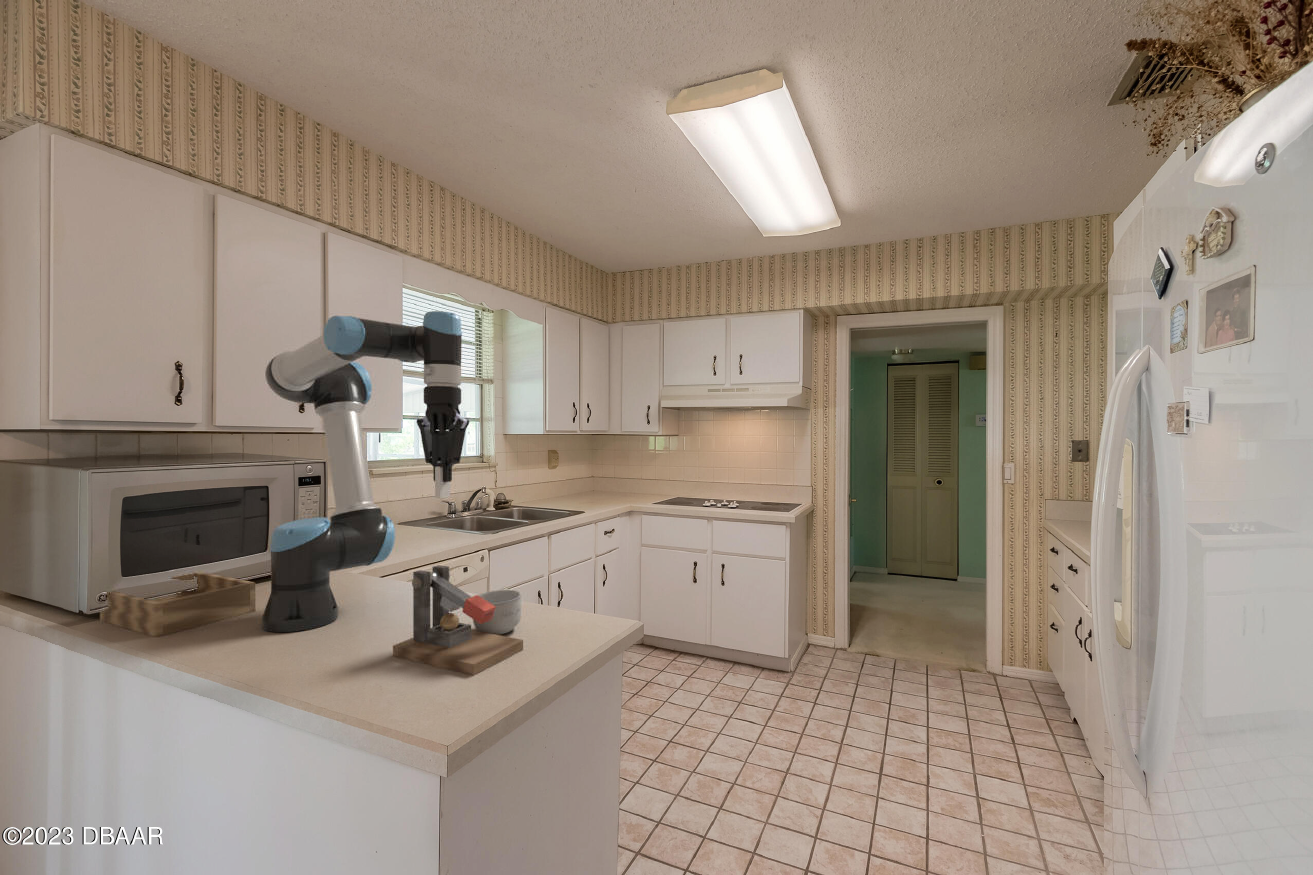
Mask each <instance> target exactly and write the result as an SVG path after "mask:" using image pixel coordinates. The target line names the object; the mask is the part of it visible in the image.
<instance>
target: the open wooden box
mask: <svg viewBox="0 0 1313 875" xmlns="http://www.w3.org/2000/svg"><path fill="white" fill-rule="evenodd" d="M197 572H198V573H195V572H192V573H193V574H190V573H187V574H188V575H184V574H181V575H182V576H179V575H176V576H177V577H174V576H172V577H173V578H171V579H179V580H182V581H183V580H191V579H194V578H193V577H194V576H195V577H197V584H198V588H197V589H194V590H191V591H182V592H181V593H176V594H174V595H171V596H167V597H162V598H158V599H155V600H148V599H144V598H140V597H136V596H132V595H128V594H124V593H120V592H116V591H110V592H107V600H108V609H106V610H104V611H101V612H100V611H99V621H100V622H104V623H107V624H110V625H114V626H117V627H121V628H125V629H126V630H131V631H134V632H138V633H141V634H145V635H148V636H152V637H154V636H155V638H158V637H162V636H165V635H168V634H174V633H176V632H180V631H185V630H188V629H191V628H196V627H199V626H203V625H207V624H211V623H214V622H215V623H216V622H219V621H222V620H226V619H231V618H234V617H239V616H242V615H245V614H249V613H253V612H256V582H254V581H249V580H244V579H239V578H233V577H229V576H223V575H218V574H213V573H208V572H207V573H206V572H202V571H197ZM185 582H186V581H185Z"/></svg>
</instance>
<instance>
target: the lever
mask: <svg viewBox="0 0 1313 875" xmlns="http://www.w3.org/2000/svg"><path fill="white" fill-rule="evenodd" d="M430 588H431V589H432V590H433V589H434V590H436V591H437V592H439V593H440V594H442V595H443V596H442V599H441V602H440V606H442V607H443V608H445V609H446V610H448V611H449V613H453V612H454V611H457V610H459V609H460V608H461V609H462V610H461V611H462V613H464V615H466V616H468V617H469V618H471V619H472V620H473V619H474V620H475V621H477V622H478V623H480V624H482V623H484V622H487V621H489V620H492V617H493V614H494V611H495V608H496V607H495V606H494V605H492V604H491V603H489V602H488V601H486V600H484V599H483V598H481V597H480V596H478V594H476V595H473V596H471V595H469V594H468V593H467V592H465V591H463V590H462V589H460V588H459V587H458V586H456V585H454V584H453V583H451V582H450V581H449V582H448V581H447V580H445V579H444V578H442V577H441V574H440V573H439V572H438V571H435V572H433V571H432V572H431V571H430Z"/></svg>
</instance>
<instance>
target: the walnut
mask: <svg viewBox="0 0 1313 875" xmlns="http://www.w3.org/2000/svg"><path fill="white" fill-rule="evenodd" d="M459 623H460V618H459V617H458V615H457V614H456V613H454V612H449V613H447V614H445V615H444V616H443V617H442V618H441V621H440V625H441V628H442V629H443V630H445V631H453V630H455V629H456V628H457V626H458V624H459Z"/></svg>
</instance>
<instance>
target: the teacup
mask: <svg viewBox="0 0 1313 875" xmlns="http://www.w3.org/2000/svg"><path fill="white" fill-rule="evenodd" d="M477 595H478V596H480V597H481V598H483V599H484V600H486V601H488V602H489V603H491V604H492V605H494V606H495V607H496V608H495V611H494V614H493V617H492V620H489V621H487V622H484V623H482V624H480V623H478V622H477V621H475V620H474V619H472V622H473V626H474V627H475V629H477V631H480V632H485V633H490V634H495V635H500V636H501V635H504V634H507V633H509V632H511V631H513V630H514V629H515V627H517V626H518V625H519V623H520V621H521V619H522V599H521V598H522V593H521V592H520V591H518V590H514V589H513V590H512V589H509V588H506V587H505V588H502V589H497V590H496V589H495V590H491V591H484V592H482V593H478V594H477Z"/></svg>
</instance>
